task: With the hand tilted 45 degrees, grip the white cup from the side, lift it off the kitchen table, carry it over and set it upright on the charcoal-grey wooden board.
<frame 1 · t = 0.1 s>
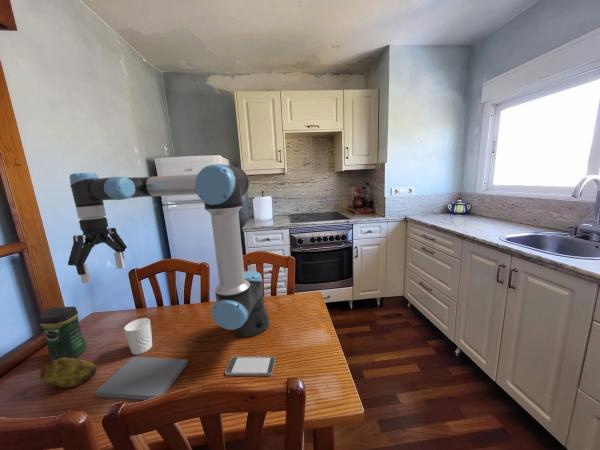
hand: (105, 275, 88), 28 cm above the table, tool pointing down, fingers open, 13 cm apart
coffee jar: (69, 355, 88), on the table
smartphone: (251, 368, 78), on the table
white cup: (142, 348, 90), on the table
grey board: (145, 378, 75), on the table
potato: (71, 382, 75), on the table
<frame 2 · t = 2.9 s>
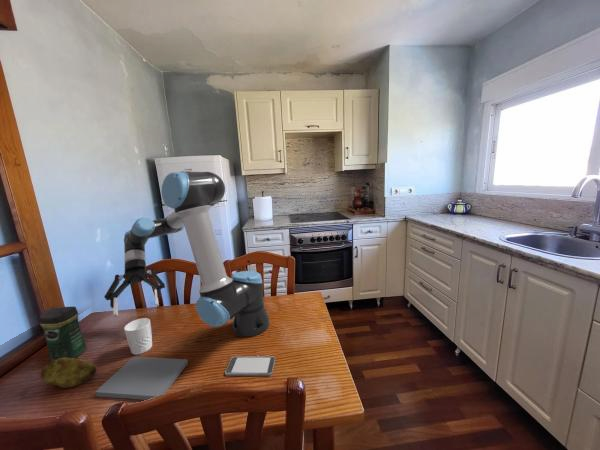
hand: (137, 310, 94), 12 cm above the table, tool tilted 45°, fingers open, 13 cm apart
nothing on the table moved.
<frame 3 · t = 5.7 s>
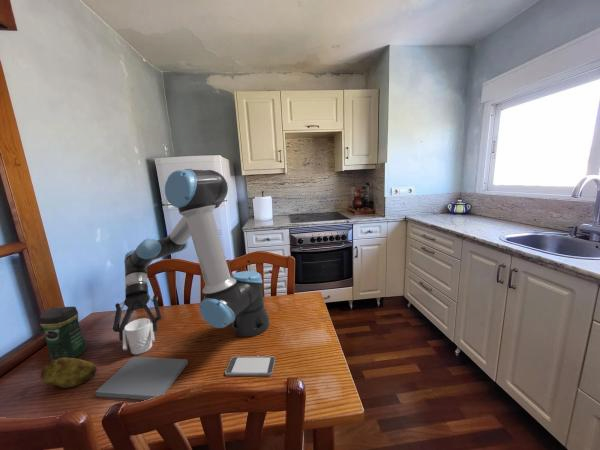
hand: (139, 345, 86), 4 cm above the table, tool tilted 45°, fingers closed on white cup, 8 cm apart
white cup: (142, 348, 90), on the table, touching gripper
everything else where it was.
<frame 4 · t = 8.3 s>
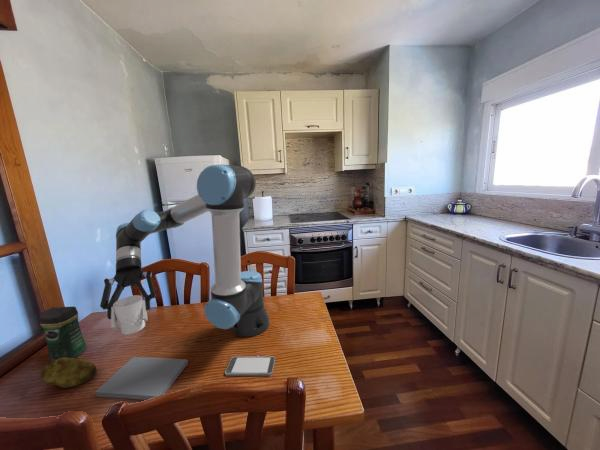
hand: (129, 323, 77), 16 cm above the table, tool tilted 45°, fingers closed on white cup, 8 cm apart
white cup: (133, 328, 80), point 13 cm above the table, touching gripper
everything else where it was.
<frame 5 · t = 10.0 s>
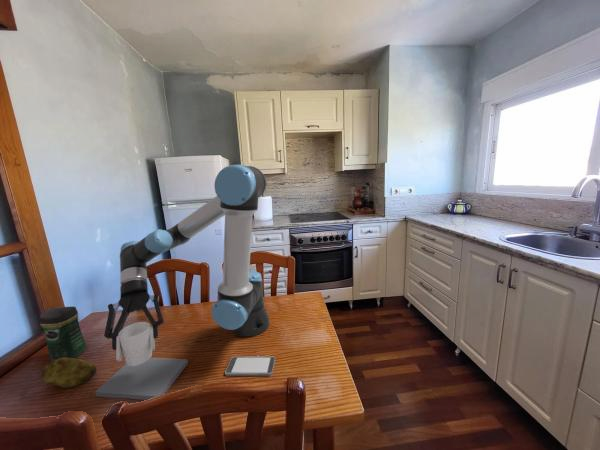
hand: (136, 354, 71), 11 cm above the table, tool tilted 45°, fingers closed on white cup, 8 cm apart
white cup: (139, 358, 74), point 7 cm above the table, touching gripper
everything else where it was.
when the fingers open (7 cm above the table, at t = 11.2 s): white cup drops 1 cm, resting on grey board.
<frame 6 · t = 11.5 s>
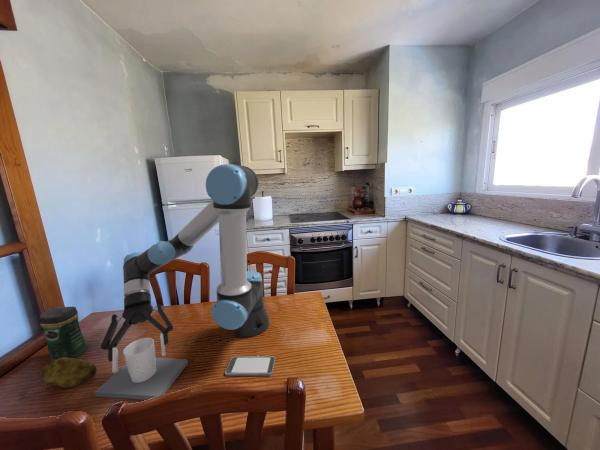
hand: (140, 363, 72), 7 cm above the table, tool tilted 45°, fingers open, 11 cm apart
white cup: (144, 374, 75), point 1 cm above the table, touching grey board
everything else where it was.
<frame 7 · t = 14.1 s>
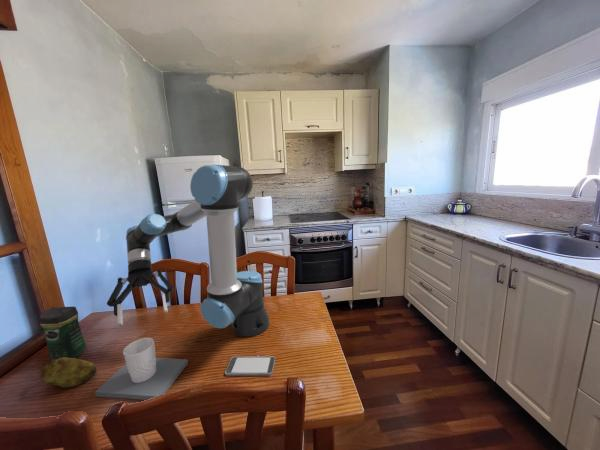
hand: (143, 317, 84), 14 cm above the table, tool tilted 40°, fingers open, 13 cm apart
nothing on the table moved.
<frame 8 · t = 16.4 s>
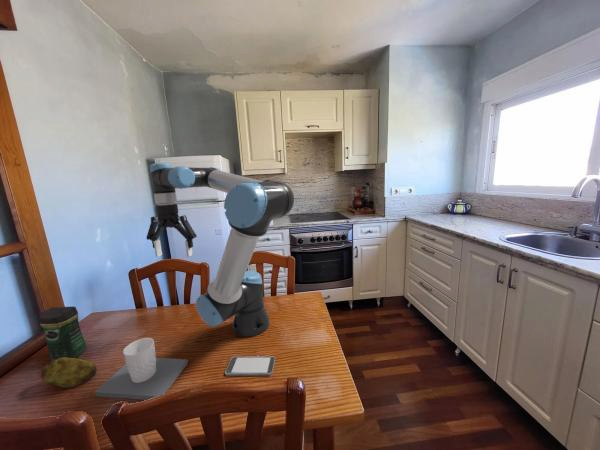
hand: (174, 255, 99), 31 cm above the table, tool pointing down, fingers open, 13 cm apart
nothing on the table moved.
at the end: white cup inside the target area on the grey board (0.1 cm from its centre), point 1.3 cm above the grey board's base; white cup tilted 0°; the gripper is holding nothing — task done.
